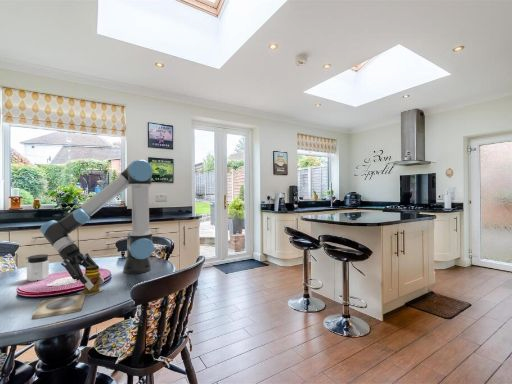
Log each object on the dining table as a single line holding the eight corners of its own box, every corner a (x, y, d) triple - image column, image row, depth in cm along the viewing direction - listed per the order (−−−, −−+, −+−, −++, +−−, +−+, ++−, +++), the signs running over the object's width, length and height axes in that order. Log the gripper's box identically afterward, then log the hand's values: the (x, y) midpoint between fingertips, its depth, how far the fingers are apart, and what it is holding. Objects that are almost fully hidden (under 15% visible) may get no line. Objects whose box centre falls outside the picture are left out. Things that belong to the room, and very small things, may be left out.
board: (85, 296, 116) (85, 293, 116) (81, 310, 102) (81, 307, 102) (42, 303, 108) (42, 300, 108) (32, 319, 95) (32, 315, 95)
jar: (25, 282, 132) (25, 259, 132) (28, 277, 139) (28, 255, 139) (47, 279, 137) (48, 256, 137) (49, 275, 143) (49, 253, 143)
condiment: (90, 295, 116) (90, 269, 117) (76, 293, 119) (76, 267, 119) (104, 290, 123) (104, 265, 124) (90, 288, 126) (91, 263, 126)
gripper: (78, 249, 133) (106, 283, 130) (42, 258, 114) (74, 298, 111) (87, 239, 132) (116, 273, 129) (53, 247, 113) (85, 287, 111)
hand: (97, 285), depth 120 cm, fingers closed on condiment, 6 cm apart
